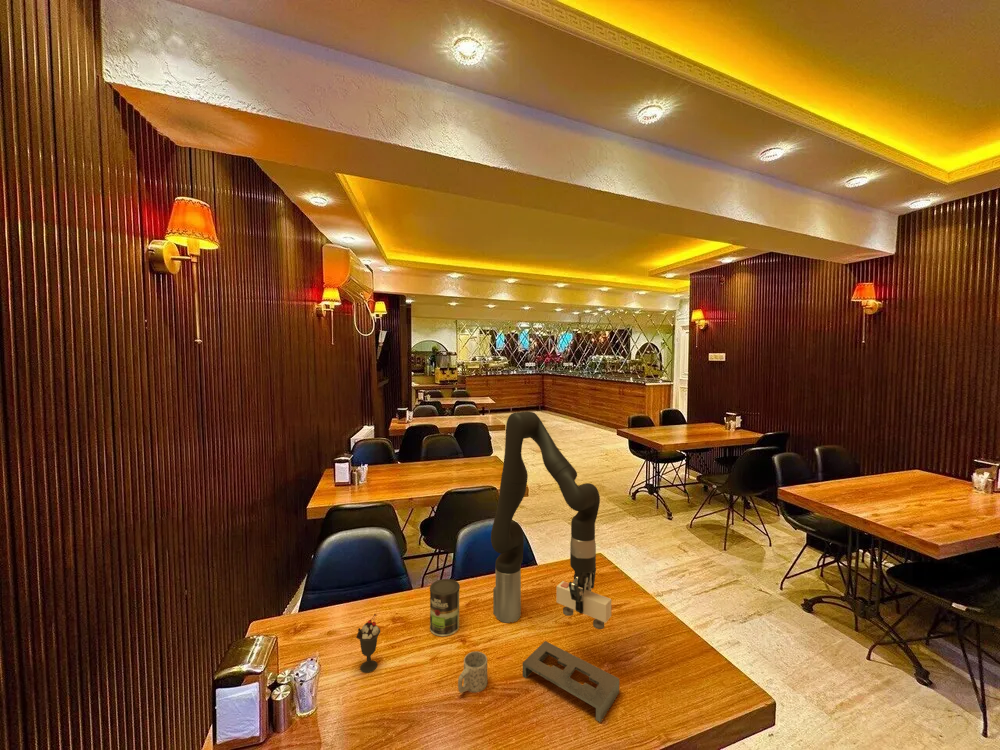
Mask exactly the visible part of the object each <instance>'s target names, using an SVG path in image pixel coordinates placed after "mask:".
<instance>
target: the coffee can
mask: <svg viewBox="0 0 1000 750" xmlns="http://www.w3.org/2000/svg"><path fill="white" fill-rule="evenodd" d="M429 586H430V587H429V591H430V596H429V598H430V599H429V601H430V602H429V606H430V607H429V631H430V632H431V634H433V635H434V636H436V637H442V638H443V637H450V636H451V635H454V634H455V633H457V632H458V631H459V629H460V589H461V585H460V582H458V581H457V580H455V579H451V578H442V579H441V578H440V579H439V580H436V581H434V582H432V584H430V585H429Z"/></svg>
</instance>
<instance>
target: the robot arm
mask: <svg viewBox="0 0 1000 750" xmlns="http://www.w3.org/2000/svg"><path fill="white" fill-rule="evenodd" d="M505 424H506V426H505V439H504V440H505V441H504V443H505V444H504V455H503V465H502V473H501V477H500V487H499V493H498V500H497V506H496V510H495V516H494V519H493V524H492V526H491V532H490V542H491V546H492V549H493V550H494V551H495V552H496V553H498V554H499V555H498V557H497V558H496V559H495V564H494V565H495V586H494V587H493V589H492V591H493V592H492V593H493V597H492V598H493V600H492V601H493V602H492V603H493V606H492V607H493V608H492V609H493V612H492V613H493V615H494V616H495V617H496V620H498V621H499V620H500V622H502V623H507V624H509V623H510V622H512V623H515V622H518V619H519V618H521V617H520V616H522V615H521V614H522V591H521V588H522V583H521V582H522V580H521V579H522V577H521V575H522V573H521V572H522V571H521V569H522V562H523V560H524V546H525V545H524V544H525V539H524V532H523V528H522V526H521V525H520V523H519V522H517V521H515V520H513V518H514V516H515V514H516V511H517V510H518V508H519V507H520V505H521V503H522V501H523V499H524V497H525V495H526V491H527V485H528V476H529V475H528V470H527V468H526V465H525V462H524V460H523V456H522V449H523V448H522V447H523V442H524V439H531V440H532V441H533V442H535V443H536V444H537V446H538V447H539V449H540V452H541V458H542V462H543V464H544V467H545V468H546V470H547V471H548V473H549V474H550V476H551V477H552V479H554V481H555V482H556V483H557V486H558V487H559V490H560V491H561V494H562V498H563V499H564V501H565V503H566V504H567V506H568V507H569V508H571V509H572V510H573V511H574V512H575V511H576V512H577V513H576V514H575V515H573V517H572V518H571V523H570V524H571V525H570V527H571V528H570V529H571V530H570V532H571V533H570V544H569V545H570V548H569V549H570V550H569V553H570V555H569V556H570V557H569V558H570V559H569V560H570V562H569V565H570V568H572V570H573V571H574V574H573V575H574V576H573V581H572V582H571V581H569V582H568V583H569V589H570V594H571V599H572V600H575V601H576V610H575V612H577V613H579V614H583V597H584V593H585V592H586V590H588V591H591V592H592V590H593V589H594V587H595V582H596V581H595V580H596V573H597V566H596V565H597V558H596V557H597V554H596V553H597V550H596V548H597V544H596V525H595V524H596V521H597V518H598V513H599V509H600V504H601V499H600V498H601V496H600V493H599V490H598V488H597V486H595V485H594V484H592V483H590V482H588V483H587V482H585V483H582V484H579V485H578V484H577V483H576V479H577V477H578V471H576V469H575V467H574V466H573V465H572V463H570V462H569V460H568V459H567V458H566V456H564V454H563V453H562V452H561V450H560V449H559V448H558V447H557V445H556V443H555V441H554V440H553V439H552V436H551V435H550V433H549V431H548V430H547V428H546V426H545V425H544V423H543V422H542V420H541V419H540V417H539V415H538V414H537V413H535V412H533V411H519V412H512V413H510V415H509V416H508V418H507V421H506V423H505ZM579 587H581V588H583V589H581V588H579ZM579 592H580V593H581V596H580V593H579ZM519 620H520V619H519ZM514 621H515V622H514Z"/></svg>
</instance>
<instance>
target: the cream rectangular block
mask: <svg viewBox="0 0 1000 750" xmlns="http://www.w3.org/2000/svg"><path fill="white" fill-rule="evenodd" d="M579 588H581V587H579ZM581 589H583V588H581ZM579 593H580V592H579ZM580 596H581V593H580ZM556 604H559V605H562V606H563V608H562V613H563V614H564V616H568V617H569V616H570V617H571V616H573V615H574V611H576V601H575V600H572V599H571V594H570V589H569V582H566V581H564V580H562V581H561V582H560V583H559V584H557V585H556ZM582 614H583V615H586V616H588V617H591V618H593V621H592V626H593V628H594V629H597V630H603V629H604V628H605V624H606V623H607V622H608V621H609V619H610V618H611V617H612V598H610V597H607V596H604V595H601V594H599V593H596V592H594V591H592V590H591V591H588V590H586V592H585V593H584V597H583V613H582Z"/></svg>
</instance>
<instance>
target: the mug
mask: <svg viewBox="0 0 1000 750" xmlns="http://www.w3.org/2000/svg"><path fill="white" fill-rule="evenodd" d="M487 686H488V656H487V655H486V654H485V653H483V652H482V651H475V650H474V651H471V652H468V653H467V654H466V655H465V656H464V658H463V670H462V672H461V673H460V675H458V680H457V689H458V692H459V693H460V694H462V693H464V692H465V693H466V692H467V691H468V692H470V693H473V694H474V693H476V694H477V693H479V692H482V691H484V690H485V689H486V687H487Z"/></svg>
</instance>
